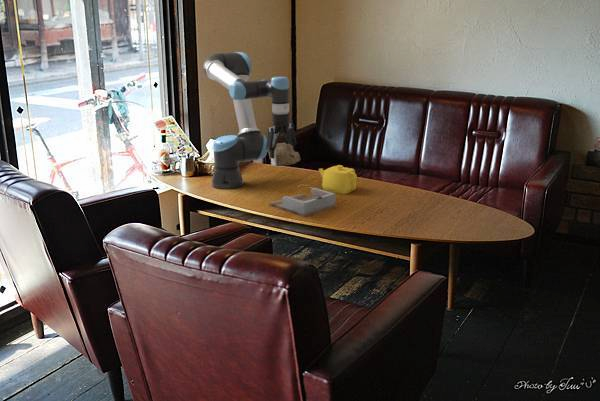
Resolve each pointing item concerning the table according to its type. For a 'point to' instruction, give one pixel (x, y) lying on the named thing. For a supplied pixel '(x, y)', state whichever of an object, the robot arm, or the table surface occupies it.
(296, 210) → the cradle rails
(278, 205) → the cradle board
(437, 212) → the table surface
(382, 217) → the table surface
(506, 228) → the table surface
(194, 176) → the table surface
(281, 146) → the rock
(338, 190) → the teapot
